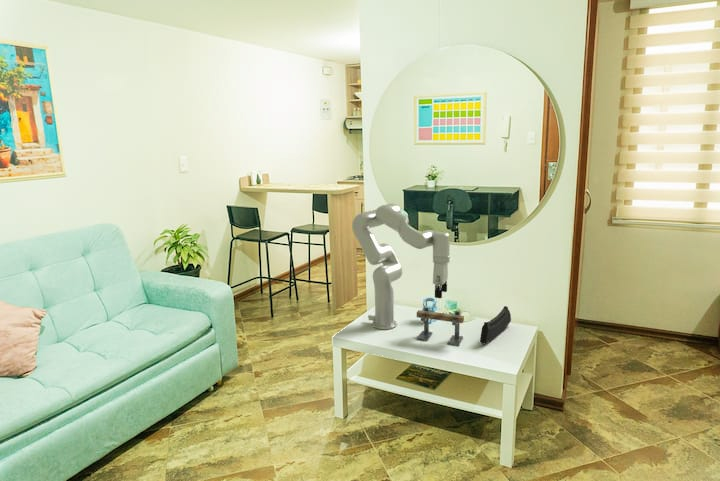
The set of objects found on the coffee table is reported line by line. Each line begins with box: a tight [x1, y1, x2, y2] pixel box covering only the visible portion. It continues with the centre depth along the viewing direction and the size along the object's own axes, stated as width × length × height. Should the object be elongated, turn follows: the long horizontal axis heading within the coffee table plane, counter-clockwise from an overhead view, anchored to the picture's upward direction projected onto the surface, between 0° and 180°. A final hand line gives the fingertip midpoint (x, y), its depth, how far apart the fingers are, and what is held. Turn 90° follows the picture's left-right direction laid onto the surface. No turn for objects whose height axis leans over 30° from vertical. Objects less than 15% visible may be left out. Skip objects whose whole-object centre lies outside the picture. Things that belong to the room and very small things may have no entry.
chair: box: [421, 297, 438, 325], centre depth 254 cm, size 8×8×12 cm
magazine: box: [479, 305, 512, 344], centre depth 234 cm, size 17×3×30 cm
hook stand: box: [416, 307, 464, 347], centre depth 231 cm, size 20×9×14 cm, turn 67°
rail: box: [416, 309, 465, 324], centre depth 229 cm, size 22×3×2 cm, turn 67°
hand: (441, 294), depth 226 cm, fingers open, 9 cm apart
